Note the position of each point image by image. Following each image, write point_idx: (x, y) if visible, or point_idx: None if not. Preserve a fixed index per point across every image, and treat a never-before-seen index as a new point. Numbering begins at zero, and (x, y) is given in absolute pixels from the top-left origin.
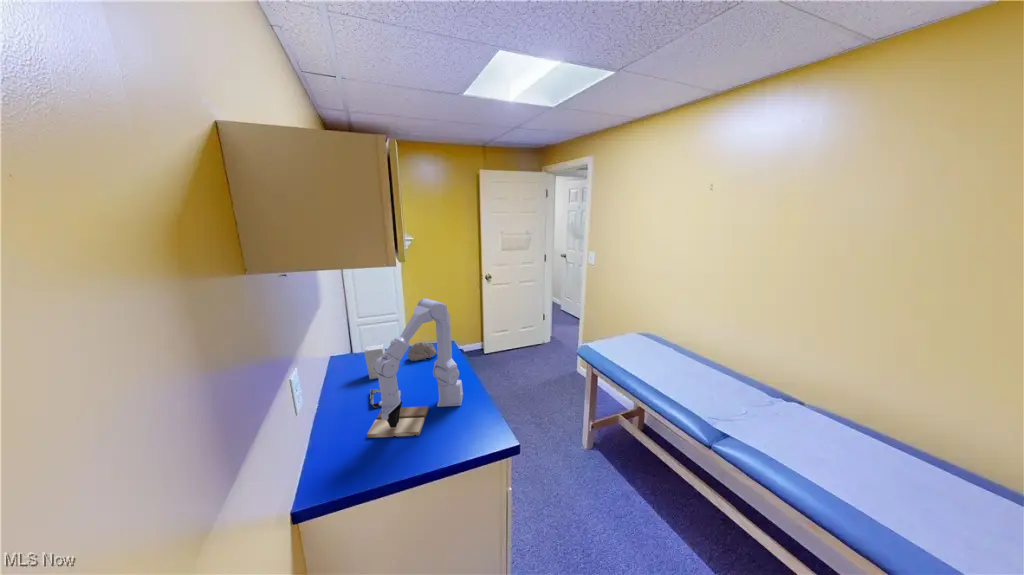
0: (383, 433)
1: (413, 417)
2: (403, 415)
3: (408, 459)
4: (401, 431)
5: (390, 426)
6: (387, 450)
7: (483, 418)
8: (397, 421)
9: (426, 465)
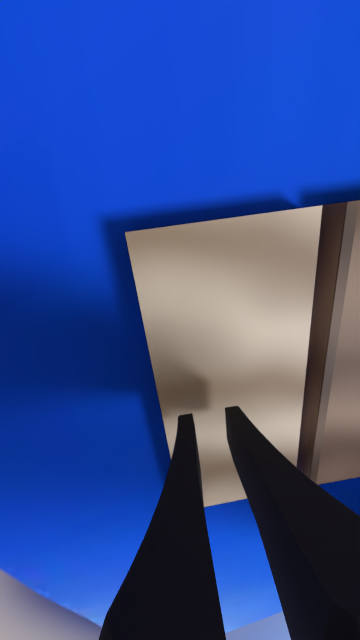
0: (151, 357)
1: (308, 436)
2: (333, 392)
3: (26, 507)
4: None
5: (177, 425)
6: (51, 410)
7: (272, 599)
8: (231, 448)
9: (19, 561)
